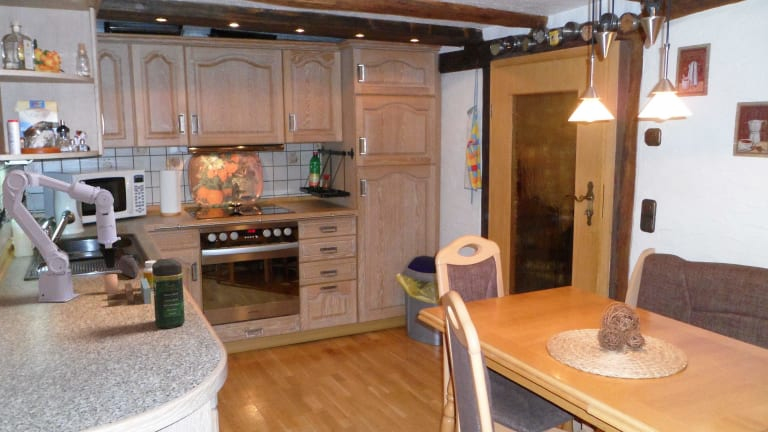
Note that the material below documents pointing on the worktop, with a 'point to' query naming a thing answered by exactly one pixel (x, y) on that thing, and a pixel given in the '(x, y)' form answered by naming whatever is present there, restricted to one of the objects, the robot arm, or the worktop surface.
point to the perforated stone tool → (128, 266)
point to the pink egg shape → (111, 284)
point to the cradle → (127, 295)
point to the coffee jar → (168, 293)
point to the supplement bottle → (149, 273)
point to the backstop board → (145, 291)
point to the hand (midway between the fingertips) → (110, 265)
